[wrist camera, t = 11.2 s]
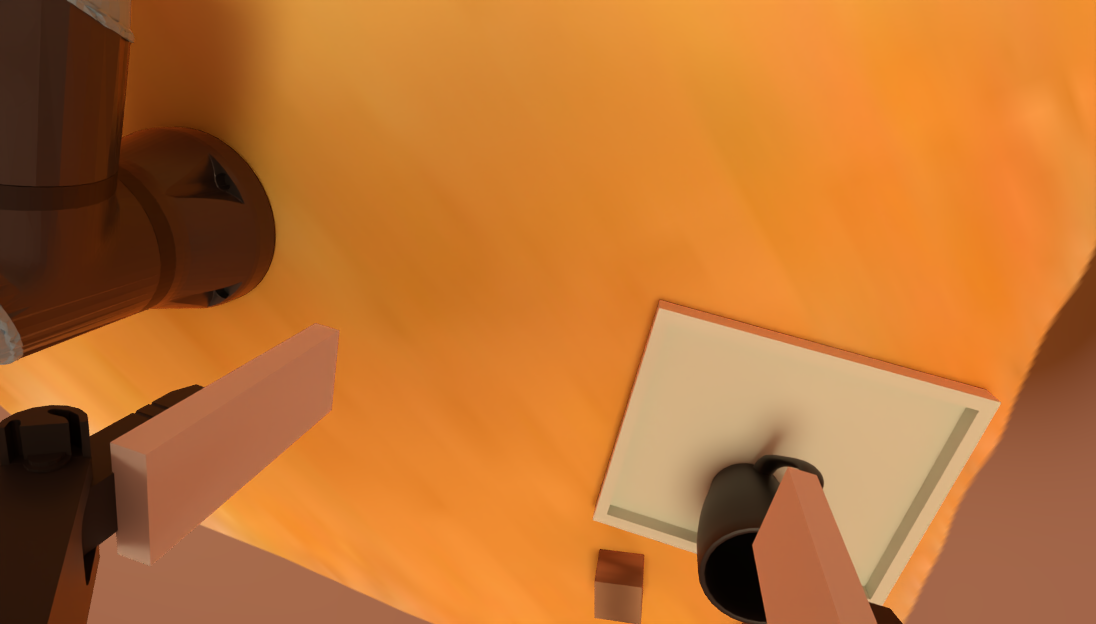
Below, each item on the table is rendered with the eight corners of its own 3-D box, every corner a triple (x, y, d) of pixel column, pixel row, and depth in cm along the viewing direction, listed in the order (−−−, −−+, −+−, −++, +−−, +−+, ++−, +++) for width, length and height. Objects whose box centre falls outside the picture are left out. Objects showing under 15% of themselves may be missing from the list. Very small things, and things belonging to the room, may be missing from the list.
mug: (844, 437, 44) (888, 519, 35) (766, 548, 48) (788, 645, 39) (744, 393, 44) (762, 463, 35) (676, 507, 48) (677, 594, 40)
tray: (595, 505, 51) (592, 519, 49) (659, 299, 44) (659, 307, 42) (870, 593, 48) (878, 612, 46) (986, 389, 41) (1001, 402, 39)
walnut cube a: (599, 583, 54) (594, 617, 50) (600, 548, 52) (594, 581, 49) (642, 589, 53) (640, 624, 49) (644, 554, 52) (642, 587, 48)
